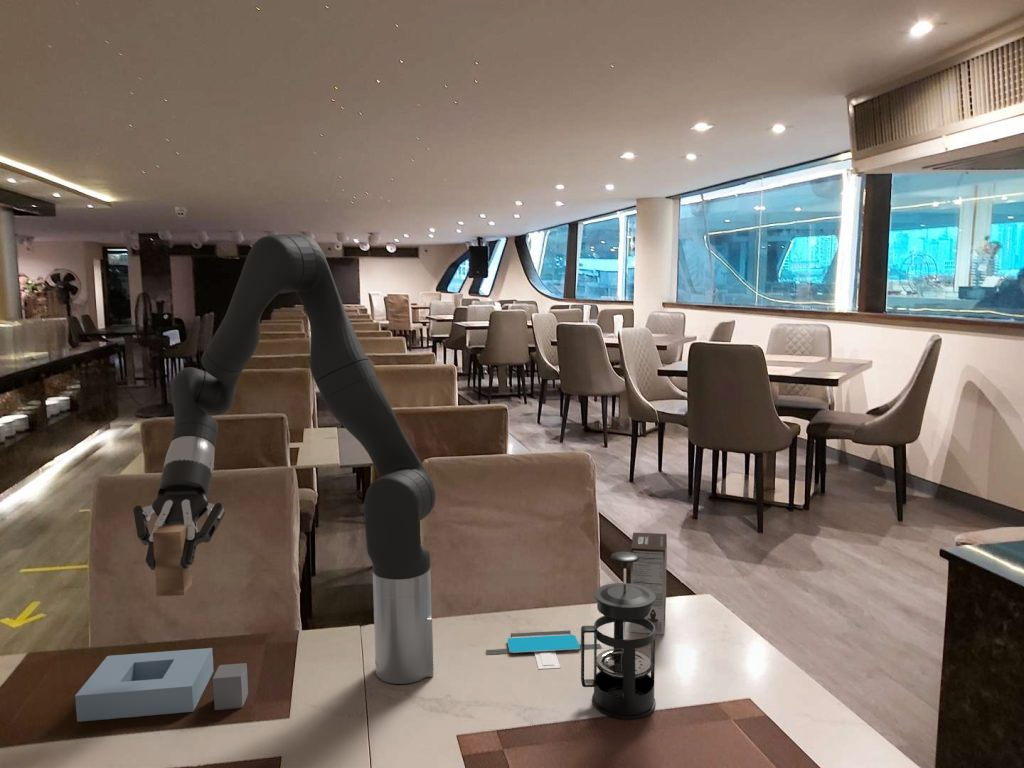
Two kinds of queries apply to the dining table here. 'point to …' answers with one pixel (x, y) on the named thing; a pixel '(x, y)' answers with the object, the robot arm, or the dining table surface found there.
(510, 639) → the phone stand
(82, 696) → the blue-grey flat frame
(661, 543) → the coffee box
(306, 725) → the dining table surface
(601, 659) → the french press
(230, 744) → the dining table surface
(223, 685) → the grey upright block
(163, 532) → the walnut pin
